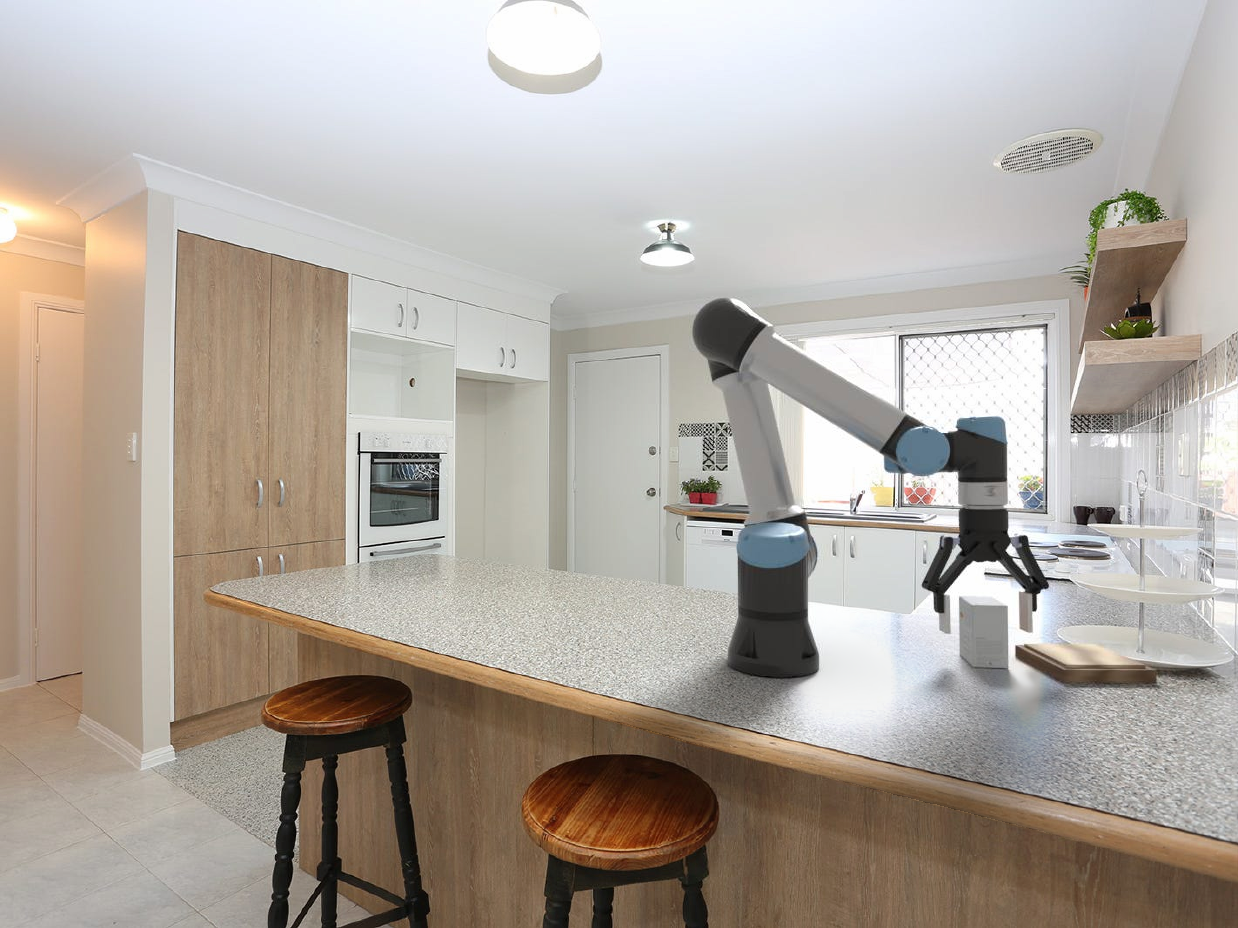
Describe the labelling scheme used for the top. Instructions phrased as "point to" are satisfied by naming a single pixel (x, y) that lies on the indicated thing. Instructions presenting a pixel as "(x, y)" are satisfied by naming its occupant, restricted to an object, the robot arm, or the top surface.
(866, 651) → the top surface
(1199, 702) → the top surface
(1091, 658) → the stand
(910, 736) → the top surface
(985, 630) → the small box
